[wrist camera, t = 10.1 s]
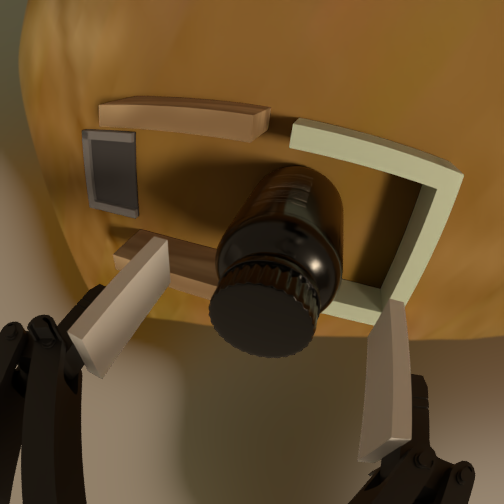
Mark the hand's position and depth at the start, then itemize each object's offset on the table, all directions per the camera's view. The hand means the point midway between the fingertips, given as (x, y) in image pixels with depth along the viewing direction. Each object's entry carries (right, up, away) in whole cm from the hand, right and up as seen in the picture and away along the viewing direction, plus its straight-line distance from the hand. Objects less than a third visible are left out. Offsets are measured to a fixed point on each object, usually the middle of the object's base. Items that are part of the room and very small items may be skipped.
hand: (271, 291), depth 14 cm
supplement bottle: (+3, +5, +9) cm, 10 cm away
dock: (+6, +4, +8) cm, 11 cm away
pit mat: (-14, +9, +11) cm, 20 cm away
